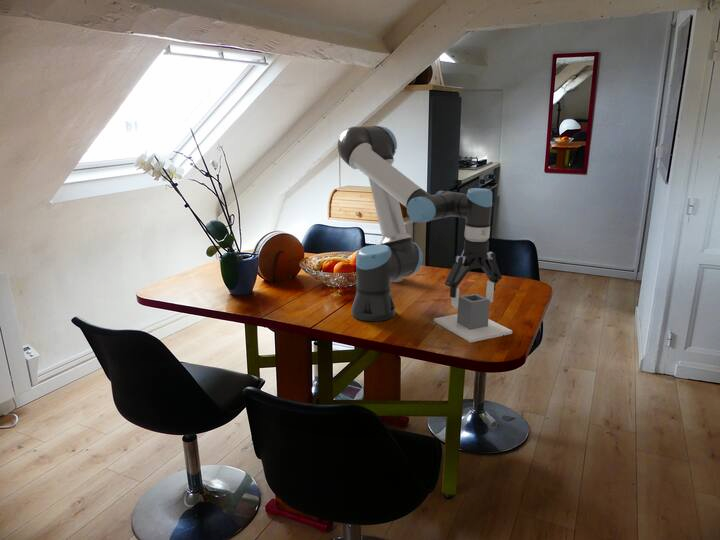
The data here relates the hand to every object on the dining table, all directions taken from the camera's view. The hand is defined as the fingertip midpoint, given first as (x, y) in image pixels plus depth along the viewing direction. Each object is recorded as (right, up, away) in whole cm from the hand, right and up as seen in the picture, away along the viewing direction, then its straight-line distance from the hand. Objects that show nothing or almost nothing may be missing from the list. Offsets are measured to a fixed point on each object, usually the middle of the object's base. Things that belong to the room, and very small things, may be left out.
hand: (472, 303), depth 176 cm
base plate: (0, -8, +2) cm, 8 cm away
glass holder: (-23, +7, +57) cm, 62 cm away
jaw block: (0, -7, +1) cm, 7 cm away
